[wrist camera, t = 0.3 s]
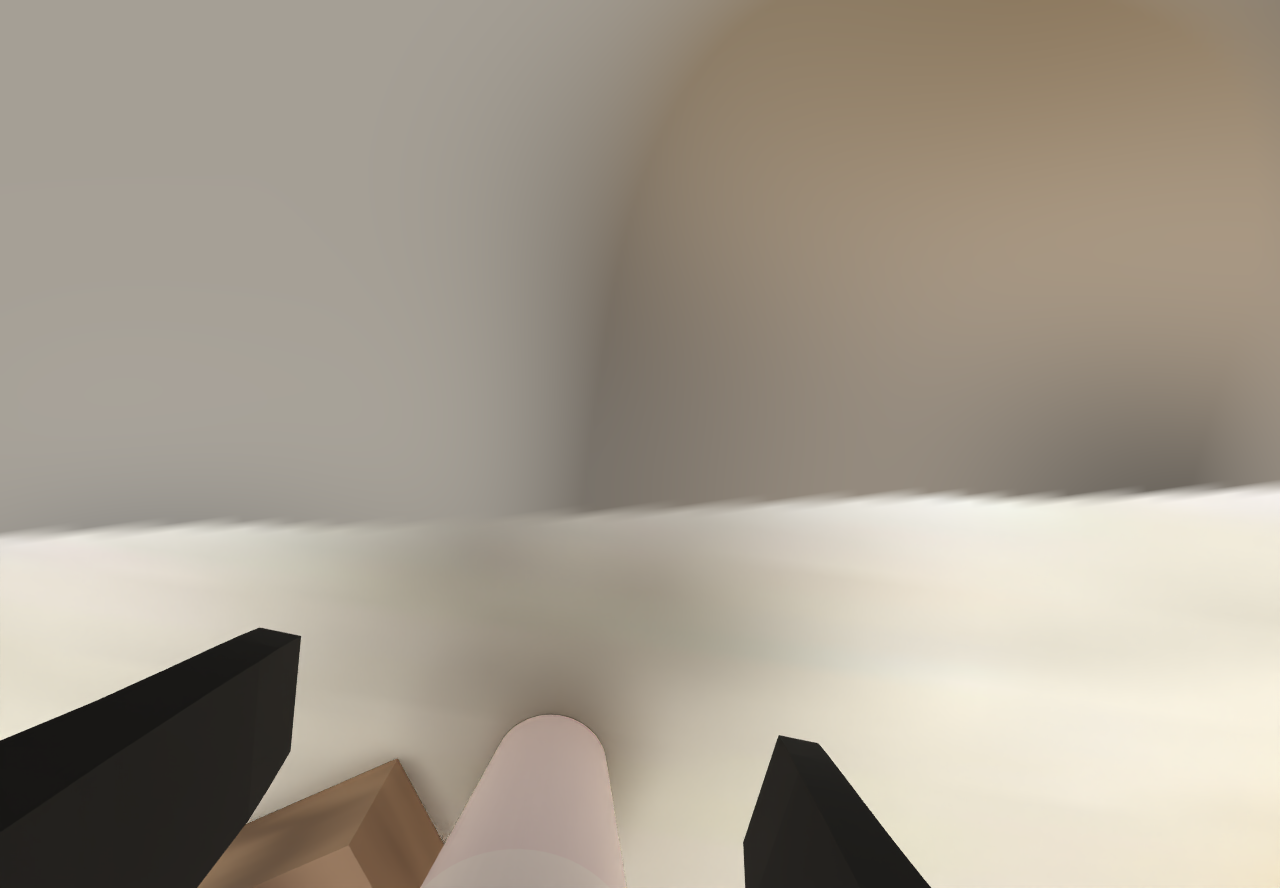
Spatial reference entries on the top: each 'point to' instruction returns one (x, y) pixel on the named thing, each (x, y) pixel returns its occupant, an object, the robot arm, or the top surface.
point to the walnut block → (337, 839)
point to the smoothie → (537, 815)
